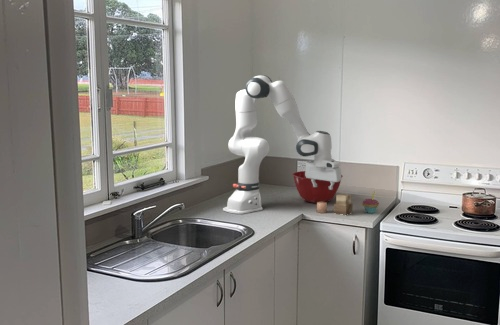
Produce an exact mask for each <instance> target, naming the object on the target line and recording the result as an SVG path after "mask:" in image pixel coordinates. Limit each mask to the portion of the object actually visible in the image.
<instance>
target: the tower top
mask: <svg viewBox="0 0 500 325" xmlns="http://www.w3.org/2000/svg"><path fill="white" fill-rule="evenodd" d="M335 195H336V198H335V199H336V200H335V204H337V205H343V206H347V205H350V204H352V194H348V193H342V192H341V193H339V194H338V193H337V194H335Z"/></svg>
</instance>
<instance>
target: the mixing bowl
mask: <svg viewBox="0 0 500 325" xmlns="http://www.w3.org/2000/svg"><path fill="white" fill-rule="evenodd" d="M305 171H306V170H301V171H296V172H294V173H292V176H293V180H294V184H295V187H296V190H297V192H298V195H299V196H300V198H302V199H303V200H304V201H305V202H307V203H310V204H311V203H313V204H317V202H326V203H328V202H329V201H331V200H332V199H333V198H334V197H335V195H337V194H336V193H337V191H339V187H340V184H341V183H342V182H341V181H342V179H343V174H341V180H340V181H339V182H335V183H334V185H333V189H332V190H329V189H328V186H330V185H331V183H330V181H324V180H318V179H316V180H315V182H316V184H317V187H313V183H312V181H311V178H306V176H305Z"/></svg>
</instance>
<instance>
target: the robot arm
mask: <svg viewBox="0 0 500 325" xmlns="http://www.w3.org/2000/svg"><path fill="white" fill-rule="evenodd" d="M263 98H269V100H270V101H271V102H272V105H273V106H274V109H275V110H276V112H277V113H278V115H279V116H280V118H281V119H284V120H286V121H287V123H288V124H289V125H290V126H291V128H292V130H293V132H294V134H295V136H296V138H297V142H296V146H295V151H296V152H297V154H298V155H300V156H301V157H310V156H313V158H314V159H313V160H307V161H306V162H305V170H304V171H305V176H306V178H311V181H312V183H313V187H317V184H316V182H315V180H316V179H318V180H324V181H330V183H331V185H330V186H328V189H329V190H332V189H333V185H334V183H335V182H339V181H340V180H341V181H342V178H341V175H342V170H341V168H340V167H341V163H340V162H339V161H338V160H335V159H334V158H333V157H332V153H331V152H332V137H331V134H330V133H329V132H327V131H322V130H316V131H314V132H313V133H312V134H310V133H309V132H308V130H307V128H306V126H305V124H304V122H303V121H302V118H301V115H300V112H299V108H298V104H297V102H296V99H295V97H294V95H293V93H292V91H291V90H290V88H289V87H288V85H287V84H286V82H284V80H276V81H272V78H270V77H269V76H267V75H264V74H260V75H256V76H253V77H252V78H250V79H248V80H247V82H246V84H245V89H241V90H239V91H237V92H236V94H235V104H234V105H235V106H234V107H235V109H234V110H235V131H234V133H233V135H232V136H231V137H230V139H229V140H228V146H227V147H228V150H229V152H230V153H231V154H234V155H236V156H240V157H244V158H245V159H244V161H243V163H242V164H240V165H239V167H238V170H237V171H238V172H237V173H238V174H237V178H238V180H237V183H233V184H232V187H233V188H234V189H235V190H234V191H233V193H232V194H231V195H230V196H229V197H228V199H227V203H226V204H227V206H225V207H223V208H222V211H223V212H226V213H230V214H236V215H244V214H249V213H254V212H258V211H263V209H264V208H263V207H262V198H261V193H260V185H261V184H260V181H259V180H260V178H259V177H260V165H261V163H262V162H263V159H264V158H265V157H266V156H267V155H268V154H269V152H270V144H269V142H268V141H267V139H265V138H262V137H258V136H252V130H253V129H254V128H256V126H257V125H258V116H257V114H258V113H257V100H258V99H263ZM286 121H285V122H286Z"/></svg>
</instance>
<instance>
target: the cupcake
mask: <svg viewBox="0 0 500 325" xmlns="http://www.w3.org/2000/svg"><path fill="white" fill-rule="evenodd" d="M375 191H376V190H374V191H373V192H372V198H366V199H364V200H363V201H362V204H361V205H362V206H363V208H364V210H365V213H367V212H368V213H367V214H375V213H376V211H377V208H378V207H379V206H380V202H379V201H378V200H376V199H375V194H376V192H375ZM374 212H375V213H374Z"/></svg>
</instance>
